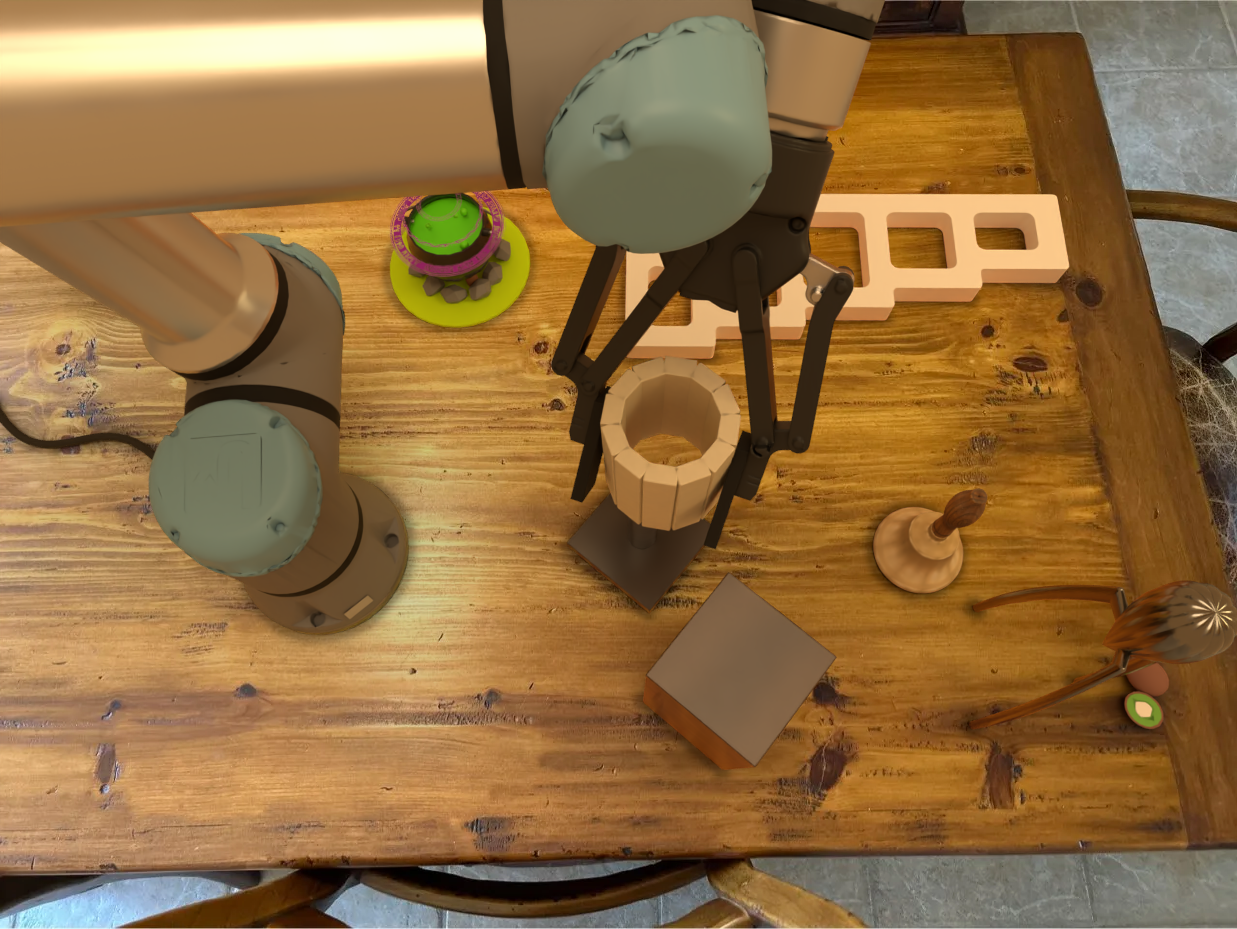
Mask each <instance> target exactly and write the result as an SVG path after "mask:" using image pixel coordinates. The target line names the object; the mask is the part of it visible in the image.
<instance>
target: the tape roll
mask: <svg viewBox="0 0 1237 929" xmlns="http://www.w3.org/2000/svg"><path fill="white" fill-rule="evenodd" d="M726 382H727V380H726V379H724V378H723V377H721V376H720V375H719V374H717V373H716V372H714V370H713V369H711V368H710V367H708V366H706V365H705V364H704V363H702V362H701V361H700V362H699V363H698V360H696V359H683V358H677V357H670V356H665V358H662V357H658V358H651V359H650V360H647V361H643V362H641V363H638V364H635V365H633V366H631V369H630V368H627V370H625V372H623V373H622V375H621V376H620V377H619V378H618V379H617V381H615V382H614V384H613V385H612V386H610V387H611V388H610V389H609V390H608V394H606V397H605V402H604V407H603V412H602V417H601V422H600V425H601V435H602V446H603V455H602V457H603V465H604V474H605V482H606V485H607V487H608V490H609V494H610V493H611V495H612V498H613V501H614V503H615V505H616V504H617V507H618V509H620V510H621V511H622V512H623V513H625V514H626V515H627V516H628V517H630V518H631V519H632V520H633V521H635V522H636V523H637V524H640V523H641V522H642V526H644V527H650V528H656V529H661V530H667V531H670V529H671V527H672V529H673V530H677V529H679V528H682V527H685V526H688V525H691V524H693V523H696V522H699V521H700V518H701V519H703V518H704V519H705V517H706V516H707V515H708V514H709V513H710V511H711V510H712V509H713V508H714V507H715V506H716V505H717V503H718V500H719V497H720V494H721V491H722V488H723V485H724V482H725V479H726V476H727V473H728V470H729V467H730V464H731V461H732V458H733V456H734V453H735V450H736V447H737V444H738V441H739V434H740V428H741V420H742V414H741V409H740V407H739V405H738V402H737V400H736V398H735V396H734V393H733V391H732V389H731V387H730V384H728V383H726ZM660 434H661V435H667V436H673V437H679V438H683V439H684V440H685V441H687V442H688V443H689V444H691V445H692V446H693V447H695V448H696V449H698V450H699V452H700V454H701V457H699V458H697V459H694V460H691V461H687V462H685V463H683V464H680V465H677V466H674V465H668V464H662V463H657V462H656V463H655V462H650V461H649V460H648V459H647V458H645V457H644V456H642V455H641V454H640V453H639V452H638V451H636V450H635V448H636V446H637V445H638V444H639V443H640V442H641V441H643V440H646V439H649V438H652V437H655V436H658V435H660Z"/></svg>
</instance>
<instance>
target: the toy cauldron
mask: <svg viewBox="0 0 1237 929" xmlns="http://www.w3.org/2000/svg"><path fill="white" fill-rule="evenodd" d="M492 192H493V191H482V192H471V193H472V194H474V195H475V197H476V199H477V201H478V202H477V201H476V199H474V197H473V196H470V195H469V194H467V193H454V194H441V195H427V196H413V197H402V201H400V202H399V203H398V205H397V206H396V207H395V210H394V211H393V215H391V218H390V219H391V220H390V224H389V238H390V242H391V245H390V246H391V247H392V248H393V250H392V253H391V259H390V262H389V278H390V282H391V286H392V289H393V290H392V291H393V292H394V294H395V296H396V298H397V300H398V301H399V303H400V304H401V305H402V306H403V307H404V308H405V310H406V311H407V312H409V313H411V314H412V315H413V316H414V317H415V318H417V319H419V320H421V321H423V322H425V323H428V324H430V325H433V326H438V327H441V328H451V329H452V328H453V329H454V328H455V329H458V328H459V329H461V328H469V327H473V326H478V325H480V324H485V323H487V322H489V321H491V320H493V319H495V318H496V317H498V316H500V315H501V314H503V313H504V312H505V311H507V310H508V309H509V308H510V307H511V306H512V305H513V304H514V303H515V302H516V301H517V300H518V299H519V297H520V296H521V294H522V292H523V291H524V290H525V288H526V284H527V282H528V278H529V276H530V270H531V263H532V262H531V254H530V248H529V246H528V244H527V241H526V238H525V237H524V235H523V233H522V232H521V230H520V228H519V227H518V226H516V225H515V223H514V222H513V221H512V220H511V219H509V218H508V217H506V215H505V214H504V213H503V210H504V209H503V206H502V204H501V203H500V201H499V198H495V197H496V196H495V195H494V193H492ZM422 197H423V198H422ZM414 202H416V203H415V204H414V205H413V203H414ZM482 202H484V204H485V205H486V206H487V207H485V206H483V204H482ZM409 211H410V212H409ZM407 212H409V214H408V216H407V215H405V214H406V213H407ZM402 226H403V228H406V229H405V230H404V232H402Z"/></svg>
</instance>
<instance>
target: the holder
mask: <svg viewBox="0 0 1237 929" xmlns="http://www.w3.org/2000/svg"><path fill="white" fill-rule="evenodd" d="M810 228H852V229H854V230H856V232H857V234H858V246H859V257H860V269H861V279H862V280H861V282H862V286H861V287H855V286H854V288H853V291H852V293H851V295H850V297H849V298H848V300H847V302H846V303H845V305H844V306H843V308H842V310H841V311H840V313H839V315H838V316H837V318H836V320H835V321H886V320H888V318H889V317H890V314H891V313H892V310H893V309H894V307H895V304H896V302H938V303H939V302H942V303H944V302H946V303H948V302H949V303H950V302H952V303H953V302H954V303H955V302H957V303H958V302H961V303H965V302H966V303H968V302H969V303H970V302H972V301H974V298H975V297H976V295H977V294H978V293H979V292H980V290H981V288H982V287H983V284H1056V283H1057V282H1058V281H1059V280H1060V278H1061V277H1062V276H1063V275H1064V274H1065V273H1066V272H1067V270H1068V269H1069V268H1070V263H1069V257H1068V250H1067V245H1066V240H1065V234H1064V228H1063V223H1062V217H1061V212H1060V206H1059V201H1058V196H1057V195H1055V194H1049V193H1047V194H1041V193H1040V194H1039V193H1037V194H1036V193H1035V194H1033V193H1032V194H1031V193H1030V194H1028V193H1027V194H1025V193H1023V194H1022V193H1021V194H1019V193H1018V194H1017V193H1016V194H1014V193H1013V194H1012V193H1009V194H1007V193H1006V194H1005V193H1001V194H999V193H995V194H993V193H992V194H991V193H989V194H988V193H987V194H986V193H985V194H984V193H978V194H976V193H974V194H973V193H967V194H966V193H965V194H964V193H938V194H937V193H821V195H820V198H819V201H818V204H817V207H816V210H815V213H814V216H813V219H812V222H811V225H810ZM888 228H918V229H919V228H921V229H922V228H933V229H934V228H935V229H938V230H940V231H941V233H942V234H943V235H942V236H943V244H944V245H943V246H944V253H945V260H946V268H928V267H927V268H925V267H924V268H923V267H922V268H920V267H919V268H915V267H914V268H913V267H911V268H901V267H896V266H894V265H893V264H892V261H891V254H890V242H889V232H888ZM976 228H977V229H985V228H986V229H987V228H988V229H989V228H990V229H1018V230H1020V231H1021V232H1022V234H1023V238H1024V243H1025V249H985V248H982V247H980V246H979V245H978V242H977V236H976ZM625 257H626V258H625V260H626V261H625V317H624V321H625V320H626V319H627V318H628V316H629V315H630V314H631V312H632V311H633V310H634V308H635V307H636V306H637V305H638V303H639V302H640V301H641V299H642V298H643V297H644V295H645V294H646V292H647V291H648V289H649V285H650V283H651V282H654V281H655V280H656V279H657V278H658V276H659V275H660V274H661V272H662V271H663V270H664V266H663V263H662V261H661V258H660V255H659V253H654V254H637V253H631V252H627V251H626V254H625ZM804 281H805V280H804V276H803V275H801V274H798V275H797V276H796V277H794V278H793V279H791V280H790V281H789V282H787V283H786V284H785V285H783V286H782V287H781V288H779V289H778V290H776V301H777V305H775V306H769V307H770V334H771V340H800V339H801V338H802V336H803V332H804V330H805V327H806V323H807V321H810V319H811V315H812V312H813V308H814V305H812V304H811V303H809V302H808V300H807V299H806V296H805V292H806V288H807V283H805V282H804ZM717 340H742V336H741V333H740V329H739V319H738V310H737V311H736V313H733V312H730V311H727V310H724V309H721V308H720V307H718V306H716V305H715V304H713V303H712V302H710V301H707V300H692V299H690V323H689V324H688V325H654V324H652V325H651V326H650V327H649V329H648V330H647V331H646V333H645V334H644V335H643V336H642V338H641V339H640V340H639V341H638V343H637V344H636V345H635V347H634V348H633V349H632V350H631V352H630V353H629V354H628V355H627V357H626V358H627V359H655V358H658V357H662V358H663V359H665V356H670V357H677V358H683V359H690V360H696V359H697V360H698V359H700V360H701V359H702V360H704V359H706V360H707V359H708V360H710V359H712V358H714V356H715V349H716V345H717V344H716V343H717Z"/></svg>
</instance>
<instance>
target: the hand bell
mask: <svg viewBox="0 0 1237 929" xmlns="http://www.w3.org/2000/svg"><path fill="white" fill-rule="evenodd" d="M987 501H988V494H987V492H986V490H984V489H983V488H980V487H979V488H978V487H977V488H974V489H965V490H962V491H959V492H957V493H956V494H955V495H953V496H952V497H951V498H950V499H949V500H948V501H947V503H946V505H945V506H944V509H943V513H942V512H939V511H934V510H931V509H928V508H925V507H920V506H907V507H902V508H899V509H896V510H894V511H893V512H890V513H889V514H888V515H887V516H885V517H884V518H883V519H882V521H881V522H879V524H878V526H877V528H876V529H875V533H874V536H873V541H872V543H873V544H872V549H873V556H874V559H875V562H876V564H877V566H878V569H879V571H880V572H881V573H882V574H883V576H885V578H886V579H888V580H889V582H891V583H892V584H893V585H895V586H896V587H898V588H900V589H902V590H904V591H906V592H910V593H915V594H930V593H936V592H938V591H940V590H943V589H945V588H947V587H948V586H949V585H950V584H952V582H954V580H955V579H956V578H957V576H958V575H959V573H960V571H961V569H962V566H963V561H964V546H963V543H962V540H961V536H960V535H961V534H960V532H959V529H962V528H965V527H969V526H971V525H973V524H974V523H976V522H977V521H978V520H979V519H980V518H981V517H982V516H983V514H984V512H985V509H986V504H987Z"/></svg>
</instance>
